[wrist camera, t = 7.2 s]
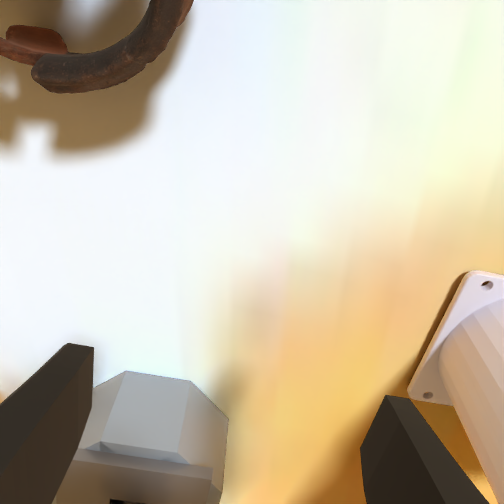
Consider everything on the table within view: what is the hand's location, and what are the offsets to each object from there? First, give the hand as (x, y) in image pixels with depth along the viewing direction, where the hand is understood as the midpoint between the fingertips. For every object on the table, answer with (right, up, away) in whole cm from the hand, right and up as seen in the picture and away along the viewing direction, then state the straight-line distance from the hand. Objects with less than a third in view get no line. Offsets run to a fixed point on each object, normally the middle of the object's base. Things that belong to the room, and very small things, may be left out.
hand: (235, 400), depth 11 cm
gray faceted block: (-5, -7, +15) cm, 17 cm away
